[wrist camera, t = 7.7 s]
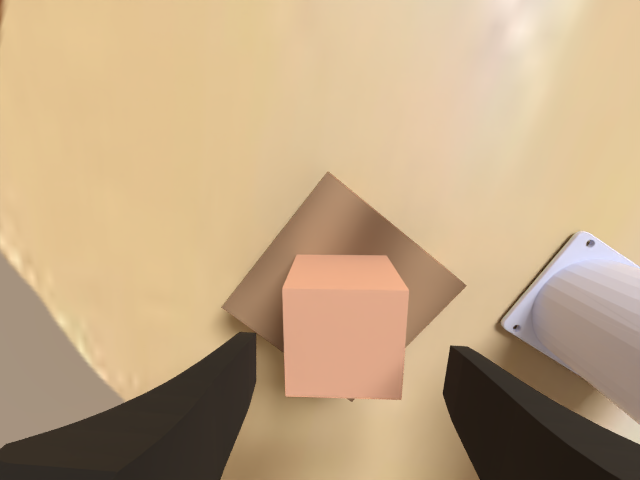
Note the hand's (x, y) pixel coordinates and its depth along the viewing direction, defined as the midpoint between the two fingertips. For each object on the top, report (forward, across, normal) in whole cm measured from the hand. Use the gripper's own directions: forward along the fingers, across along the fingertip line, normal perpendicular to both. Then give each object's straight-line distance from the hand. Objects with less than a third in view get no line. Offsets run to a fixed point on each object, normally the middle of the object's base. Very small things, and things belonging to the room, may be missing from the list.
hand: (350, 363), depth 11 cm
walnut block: (+10, 0, 0) cm, 10 cm away
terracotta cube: (+6, 0, 0) cm, 6 cm away
